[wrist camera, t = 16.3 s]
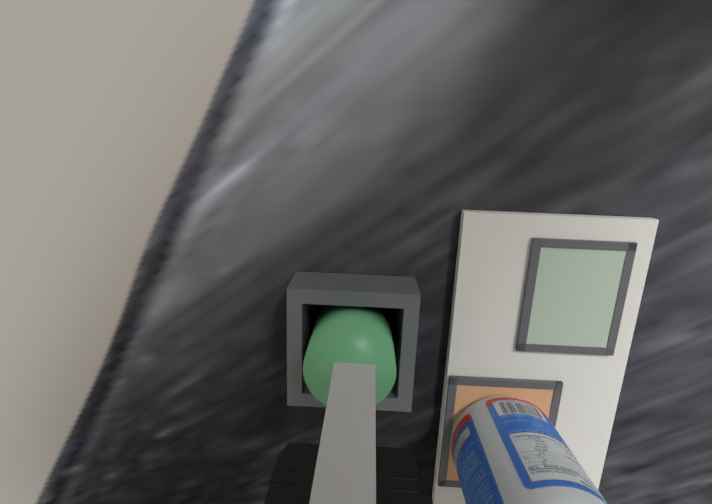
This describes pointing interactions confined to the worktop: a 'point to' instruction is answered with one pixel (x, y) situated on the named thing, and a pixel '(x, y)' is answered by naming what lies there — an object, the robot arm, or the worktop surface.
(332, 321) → the button
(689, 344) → the worktop surface
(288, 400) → the button frame
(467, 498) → the pill bottle
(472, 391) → the white rectangular board
